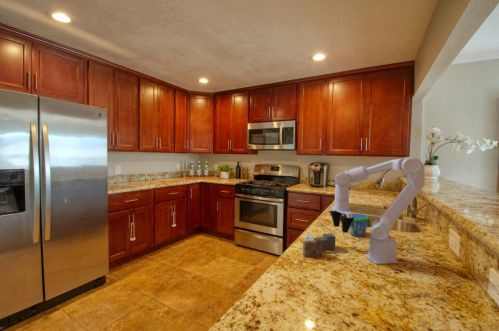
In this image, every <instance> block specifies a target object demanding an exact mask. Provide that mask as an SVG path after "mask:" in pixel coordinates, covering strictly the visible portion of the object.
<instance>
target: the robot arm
mask: <svg viewBox="0 0 499 331" xmlns="http://www.w3.org/2000/svg"><path fill="white" fill-rule="evenodd" d="M425 169H426V168H425V166H424V164H423V162H422V161H421V160H420V159H419V158H417V157H415V156H406V157H404V158H403V157H401V158H395V159H390V160H387V161H384V162H380V163H378V164H374V165H371V166H369V167H365V166H363V165H361V166H360V165H356V166H355V167H353V168H352V169H345V170H344V171H341V172H337V174H336V175H335V176H334V182H335V184H334V185H335V188H334V204H331V210H329V213H330V216H331V219H332V223H333V224H332V225H333V227H334V228H338V227H340V223H341V231H342V233H344V234H345V233H347V234H348V233H349V227H350V225H351V223H352V221H353V220H354V217H353V212H352V211H351V210H350V209H349V204H350V202H349V201H350V198H349V196H350V189H349V187H350V185H349V183H351V184H353V183H358V182H361V181H363V180H368V178H369V177H370V176H371V175H374V174H379V173H382V172H387V171H390V170H392V171H397V172H400V171H402V172H403V173H404V175H405V178H406V180H407V183H406V184H405V186H404V187H403V188H402V189H401V191H400V192H399V193H398V195H397V196H396V197H395V199H393V201H392V202H391V203H390V205H389V206H388V207H387V209H386V210H385V211H384V212H383V213H382V214H381V215H380V216H379V218H378V219H375V220H374V221H372V222H371V227H370V234H369V237H368V238H369V241H368V242H369V243H368V253H364V254H363V256H365V257H366V258H368V259H369V260H370V261H371V262H372V263H374V264H375V265H383V264H384V265H385V264H398V261H397V248H398V246H397V243H396V241H395V239H393V238H392V237H389V236H390V231H391V230H392V229H393V226H394V224H395V223H396V222H397V220H398V219H399V218H400V217H401V215H402V214H403V213H404V212H405V210H406V209H407V208H408V207H409V205H410V204H411V203H412V201H413V200H414V199H415V198H416V197H417V195H418V194H420V192H421V191H422V189H423V188H424V186H425Z"/></svg>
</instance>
